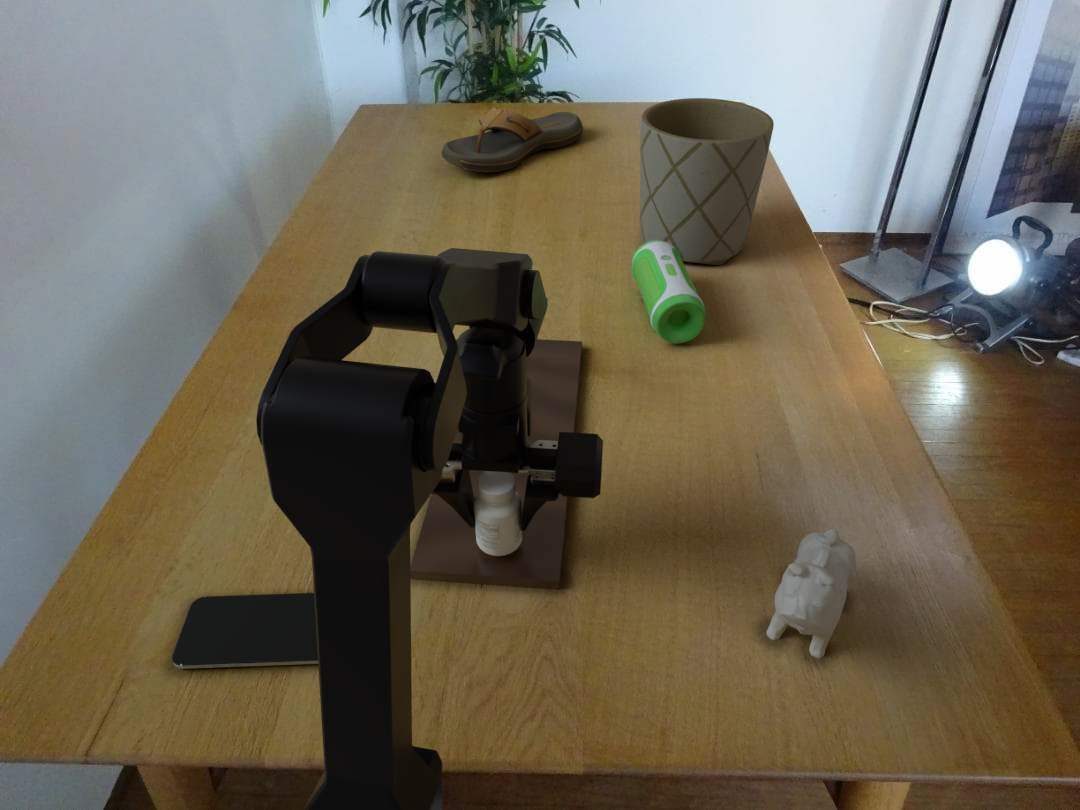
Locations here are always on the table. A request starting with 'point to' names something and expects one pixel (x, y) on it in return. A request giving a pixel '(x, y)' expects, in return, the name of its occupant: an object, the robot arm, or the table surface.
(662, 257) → the speaker
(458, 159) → the sandal
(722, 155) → the planter
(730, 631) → the table surface
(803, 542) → the dog figurine
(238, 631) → the smartphone
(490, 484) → the pill bottle
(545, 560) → the shelf board
